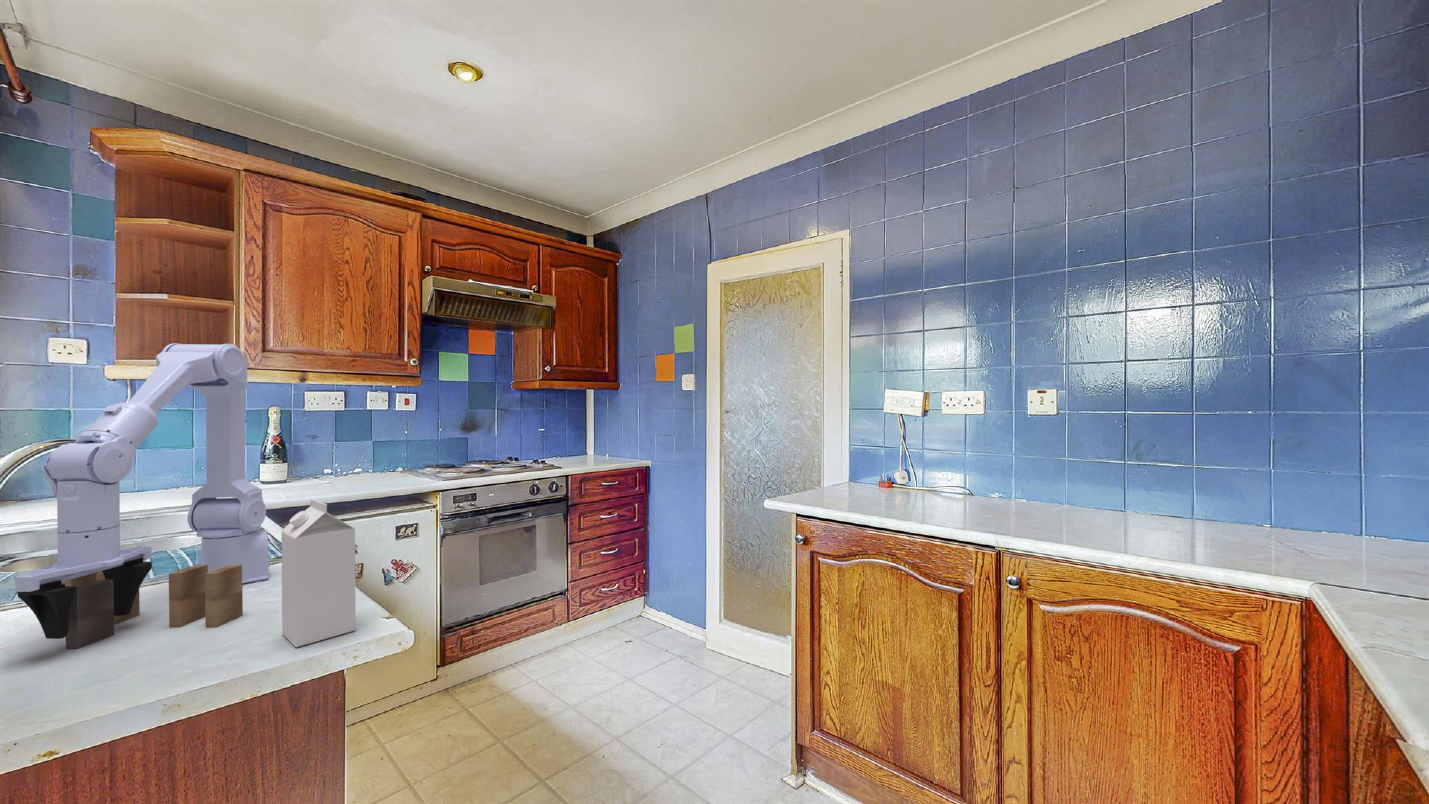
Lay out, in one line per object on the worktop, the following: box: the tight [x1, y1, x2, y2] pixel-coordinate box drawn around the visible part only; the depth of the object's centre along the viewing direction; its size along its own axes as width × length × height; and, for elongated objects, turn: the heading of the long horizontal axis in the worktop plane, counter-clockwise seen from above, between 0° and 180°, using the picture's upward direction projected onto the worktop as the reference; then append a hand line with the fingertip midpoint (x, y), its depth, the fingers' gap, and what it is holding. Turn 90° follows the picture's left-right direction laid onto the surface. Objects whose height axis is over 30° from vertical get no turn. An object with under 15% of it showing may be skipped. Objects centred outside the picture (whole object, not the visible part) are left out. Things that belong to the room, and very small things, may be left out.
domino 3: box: [168, 563, 208, 628], centre depth 83 cm, size 4×2×8 cm, turn 179°
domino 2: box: [97, 572, 141, 625], centre depth 83 cm, size 4×2×8 cm, turn 179°
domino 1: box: [62, 571, 102, 587], centre depth 83 cm, size 4×2×8 cm, turn 179°
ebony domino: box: [65, 579, 115, 650], centre depth 76 cm, size 4×2×8 cm, turn 179°
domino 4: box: [204, 565, 244, 629], centre depth 82 cm, size 4×2×8 cm, turn 179°
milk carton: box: [281, 498, 357, 648], centre depth 78 cm, size 7×7×19 cm
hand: (90, 625), depth 76 cm, fingers open, 7 cm apart
